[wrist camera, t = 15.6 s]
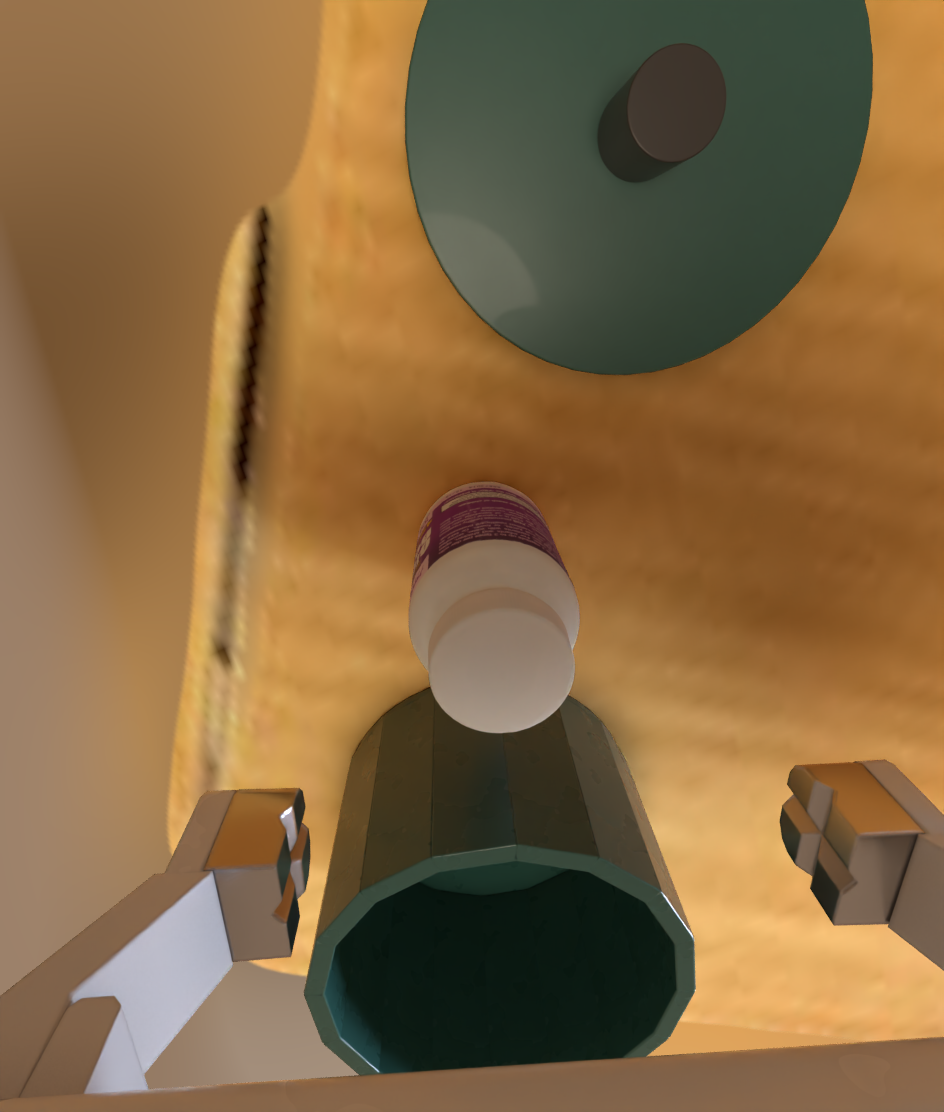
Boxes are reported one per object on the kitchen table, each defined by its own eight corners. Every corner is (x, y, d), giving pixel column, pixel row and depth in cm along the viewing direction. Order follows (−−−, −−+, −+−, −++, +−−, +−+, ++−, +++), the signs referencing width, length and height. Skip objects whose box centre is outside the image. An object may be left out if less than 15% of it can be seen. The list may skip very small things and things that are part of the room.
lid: (601, -302, 17) (654, -504, 13) (943, 83, 21) (1076, 29, 16) (322, 199, 21) (291, 176, 17) (647, 447, 25) (690, 480, 21)
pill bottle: (398, 499, 25) (372, 613, 16) (530, 461, 25) (577, 557, 16) (438, 616, 27) (435, 775, 18) (561, 583, 27) (618, 728, 18)
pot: (454, 623, 27) (459, 780, 19) (682, 765, 31) (776, 954, 22) (293, 823, 31) (234, 1031, 23) (511, 930, 35) (534, 1146, 26)
